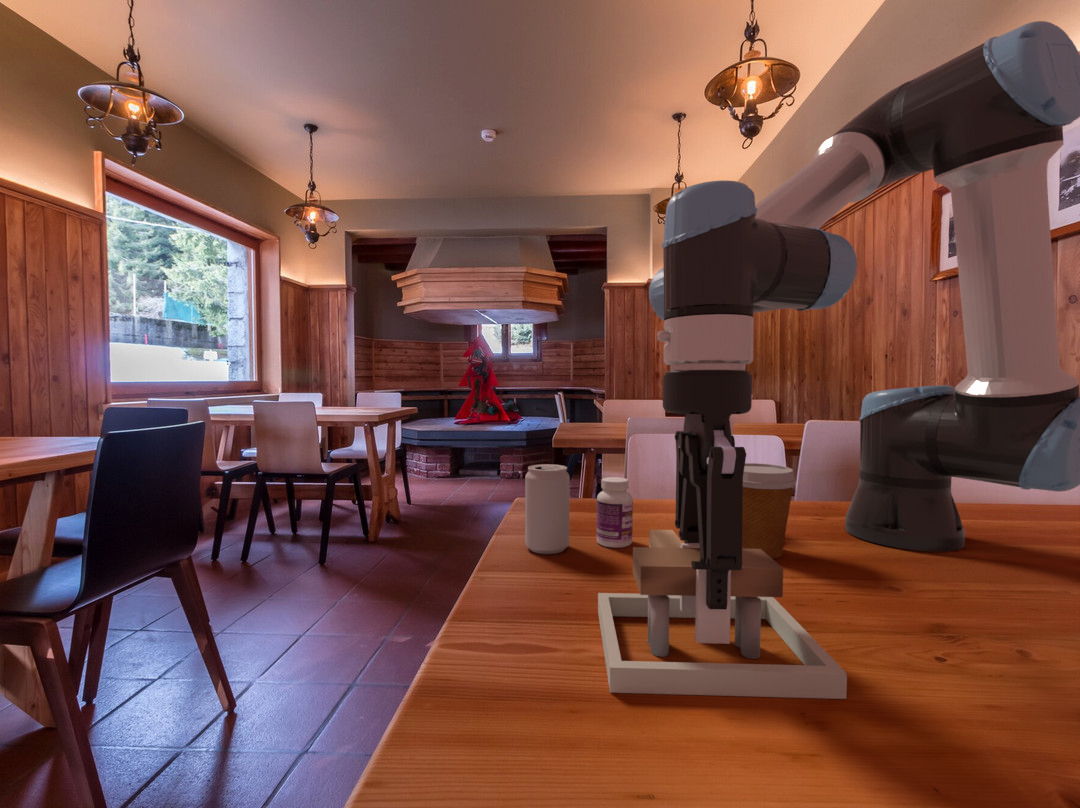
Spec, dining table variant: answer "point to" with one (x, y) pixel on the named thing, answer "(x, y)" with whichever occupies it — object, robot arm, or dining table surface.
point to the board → (677, 577)
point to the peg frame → (718, 678)
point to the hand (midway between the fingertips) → (703, 624)
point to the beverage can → (547, 508)
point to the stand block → (663, 539)
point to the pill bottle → (614, 513)
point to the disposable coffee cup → (766, 506)
